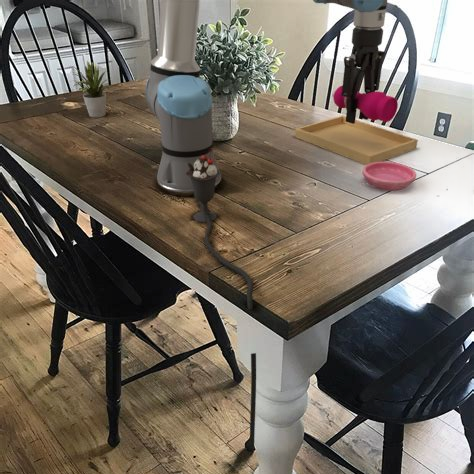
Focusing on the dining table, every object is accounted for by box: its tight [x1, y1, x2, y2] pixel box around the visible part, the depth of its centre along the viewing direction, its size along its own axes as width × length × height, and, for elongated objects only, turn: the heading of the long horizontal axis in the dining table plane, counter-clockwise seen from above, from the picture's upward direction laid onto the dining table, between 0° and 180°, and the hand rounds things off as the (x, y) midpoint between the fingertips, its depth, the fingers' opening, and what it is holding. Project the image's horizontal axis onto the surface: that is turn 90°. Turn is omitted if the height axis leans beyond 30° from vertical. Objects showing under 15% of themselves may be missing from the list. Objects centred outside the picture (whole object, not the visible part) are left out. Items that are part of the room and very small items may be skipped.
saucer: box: [361, 161, 417, 192], centre depth 130 cm, size 12×12×3 cm
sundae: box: [186, 147, 221, 223], centre depth 112 cm, size 7×7×15 cm
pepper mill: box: [331, 85, 399, 123], centre depth 147 cm, size 7×7×20 cm
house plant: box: [69, 60, 111, 118], centre depth 171 cm, size 14×14×16 cm
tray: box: [294, 115, 419, 166], centre depth 153 cm, size 28×20×2 cm
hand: (357, 120), depth 150 cm, fingers closed on pepper mill, 5 cm apart
